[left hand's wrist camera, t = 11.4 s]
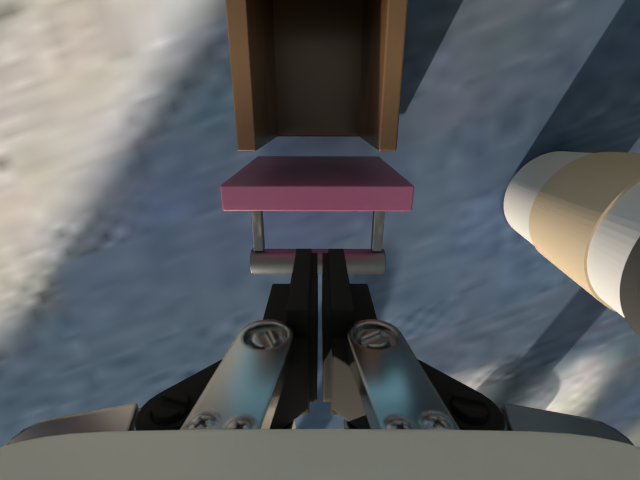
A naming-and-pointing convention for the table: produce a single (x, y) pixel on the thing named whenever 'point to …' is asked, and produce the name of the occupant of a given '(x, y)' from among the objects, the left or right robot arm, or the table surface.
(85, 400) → the table surface
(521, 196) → the coffee cup
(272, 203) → the drawer
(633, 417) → the table surface
